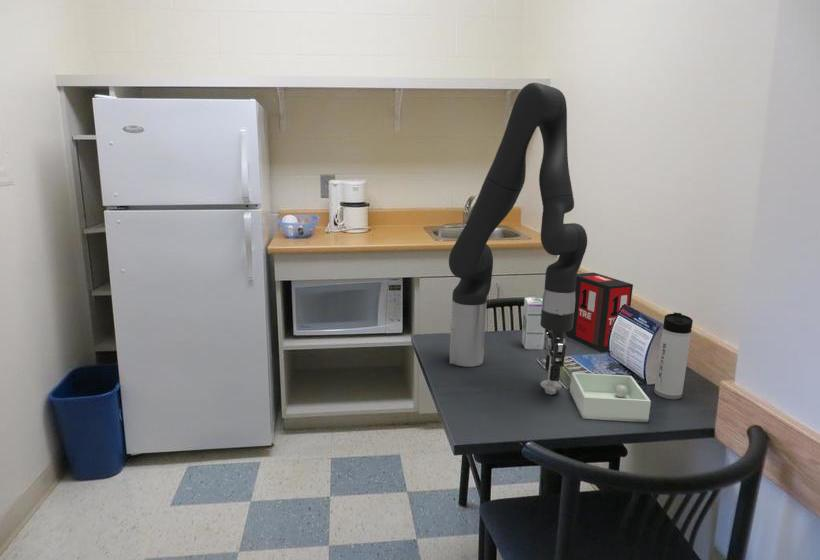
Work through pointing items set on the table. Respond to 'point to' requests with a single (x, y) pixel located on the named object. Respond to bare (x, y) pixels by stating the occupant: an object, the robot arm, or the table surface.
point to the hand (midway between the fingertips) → (551, 375)
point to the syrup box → (532, 324)
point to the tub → (609, 397)
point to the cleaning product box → (597, 308)
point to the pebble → (621, 391)
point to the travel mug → (673, 356)
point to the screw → (550, 384)
